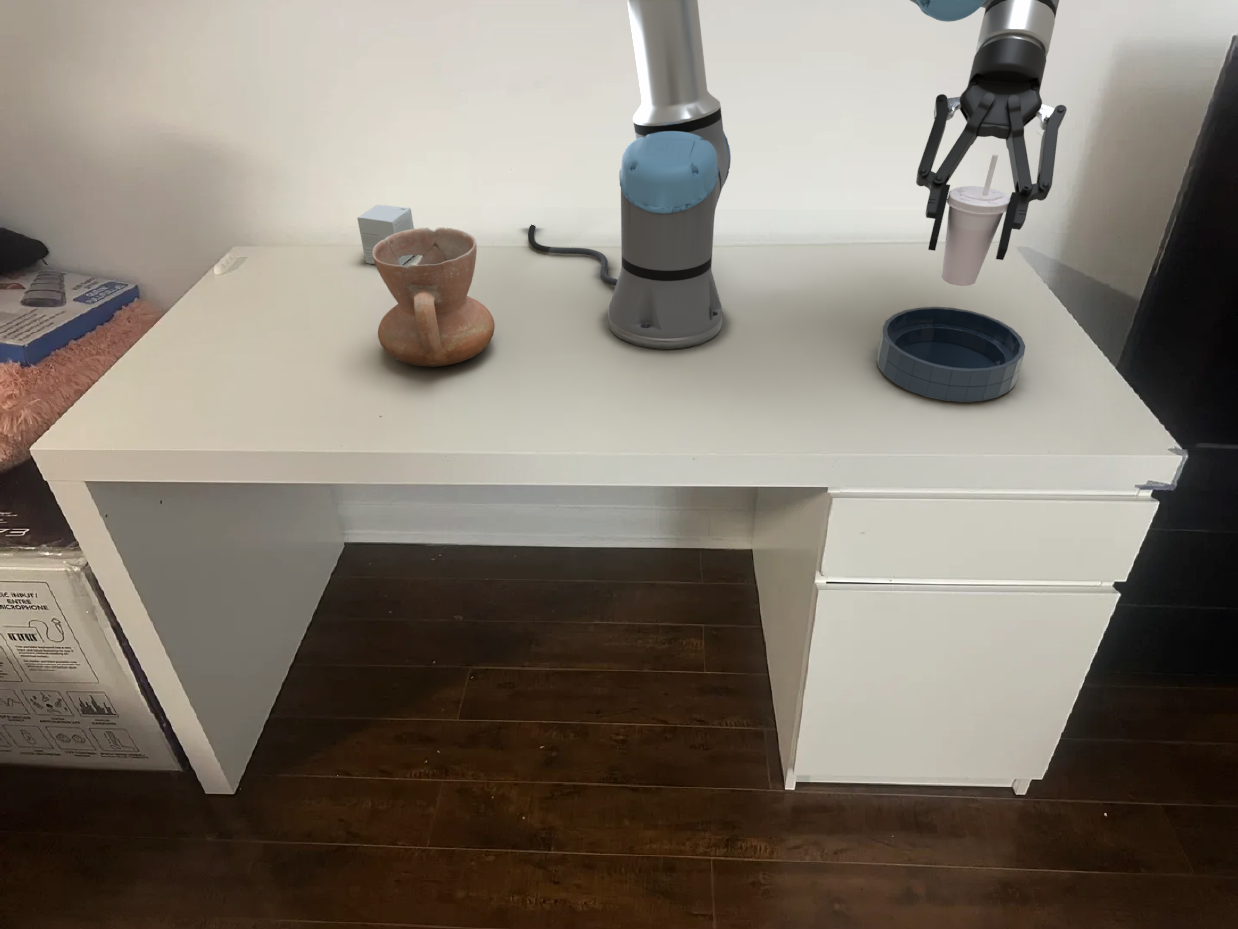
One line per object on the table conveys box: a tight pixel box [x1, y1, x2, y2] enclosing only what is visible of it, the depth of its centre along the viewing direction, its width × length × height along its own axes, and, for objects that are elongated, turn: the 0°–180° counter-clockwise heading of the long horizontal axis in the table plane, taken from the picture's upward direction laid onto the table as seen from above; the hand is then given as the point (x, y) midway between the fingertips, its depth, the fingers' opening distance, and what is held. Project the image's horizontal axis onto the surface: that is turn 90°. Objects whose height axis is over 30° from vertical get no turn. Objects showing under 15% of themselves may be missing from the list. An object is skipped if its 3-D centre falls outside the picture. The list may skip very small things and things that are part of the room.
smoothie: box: [941, 153, 1010, 287], centre depth 96 cm, size 6×6×14 cm
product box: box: [357, 204, 415, 266], centre depth 134 cm, size 6×6×7 cm
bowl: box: [876, 306, 1026, 403], centre depth 105 cm, size 16×16×4 cm
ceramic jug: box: [372, 227, 495, 368], centre depth 107 cm, size 18×14×14 cm
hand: (966, 249), depth 94 cm, fingers closed on smoothie, 6 cm apart
